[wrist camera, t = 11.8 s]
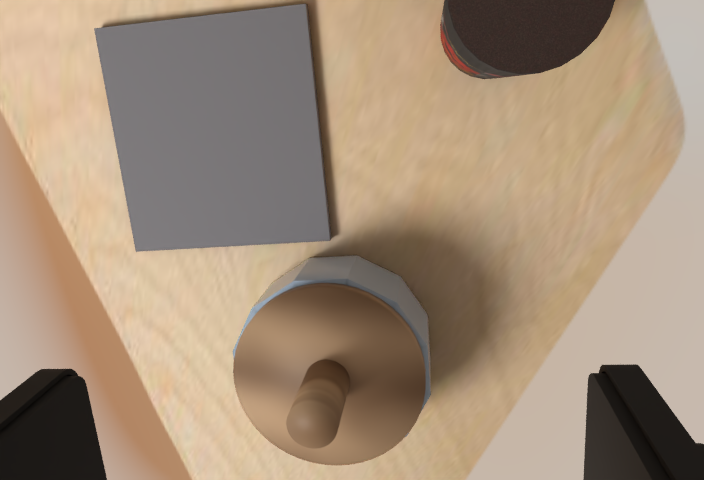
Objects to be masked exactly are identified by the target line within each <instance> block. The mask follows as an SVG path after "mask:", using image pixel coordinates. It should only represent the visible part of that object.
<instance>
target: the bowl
mask: <svg viewBox="0 0 704 480" xmlns="http://www.w3.org/2000/svg"><path fill="white" fill-rule="evenodd" d="M314 283H337V284H344V285H348V286H352V287H356V288H359V289H362V290H364V291H367V292H369V293H371V294H373V295H375V296H376V297H378V298H380V299H382V300H383V301H384V302H386V303H387V304H389V305H390V306H391V307H393V308H394V309H395V310H396V311H397V312H398V313H399V314H400V315H401V316H402V317H403V319H404V320H405V321H406V322H407V323H408V325H409V326H410V328H411V329H412V331H413V332H414V334H415V336H416V338H417V340H418V342H419V344H420V347H421V350H422V353H423V357H424V362H425V369H426V390H425V397H424V402H423V406H422V409H423V407H424V405H425V404H426V402H427V400H428V399H429V397H430V395H431V358H430V342H429V327H428V315H427V313H426V312H425V310H424V309H423V307H422V306H421V305H420V303H419V302H418V300H417V299H416V297H415V296H414V295H413V293H412V292H411V290H410V289H409V287H408V286H407V285H406V283H405V282H404V280H403V279H402V277H401V276H399V275H397V274H395V273H393V272H390V271H388V270H386V269H384V268H382V267H380V266H378V265H376V264H374V263H372V262H370V261H368V260H366V259H364V258H361V257H359V256H357V255H355V256H336V257H317V258H309V259H307V260H306V261H304V262H303V263H301V264H300V265H298V266H297V267H295V268H294V269H292V270H291V271H289V272H288V273H286V274H285V275H283V276H282V277H280V278H279V279H277V280H275V281H274V282H272V284H271V285H270V286H269V287H268V289H267V290H266V291H265V292H264V294H263V295H262V296H261V297H260V299H259V300H258V301H257V302H256V304H255V305H254V306H253V307H252V309H251V311H250V314H249V316H248V318H247V320H246V323H245V325H244V327H243V329H242V332H241V334H240V336H239V338H238V341H237V343H236V345H235V347H234V350H233V356H234V357H235V352H236V348H237V345H238V342H239V339H240V337H241V335H242V333H243V331H244V329H245V328H246V326H247V325H248V324H249V322H250V321H251V319H252V318H253V317H254V316H255V314H256V313H257V312H258V311H259V310H260V309H261V308H262V307H263V306H264V305H265V304H266V303H267V302H269V301H270V300H271V299H273V298H274V297H276V296H278V295H279V294H281V293H283V292H285V291H287V290H290V289H292V288H295V287H298V286H302V285H306V284H314ZM422 409H421V411H422ZM407 435H408V434H407ZM407 435H406V436H407ZM406 436H405V437H406Z"/></svg>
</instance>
